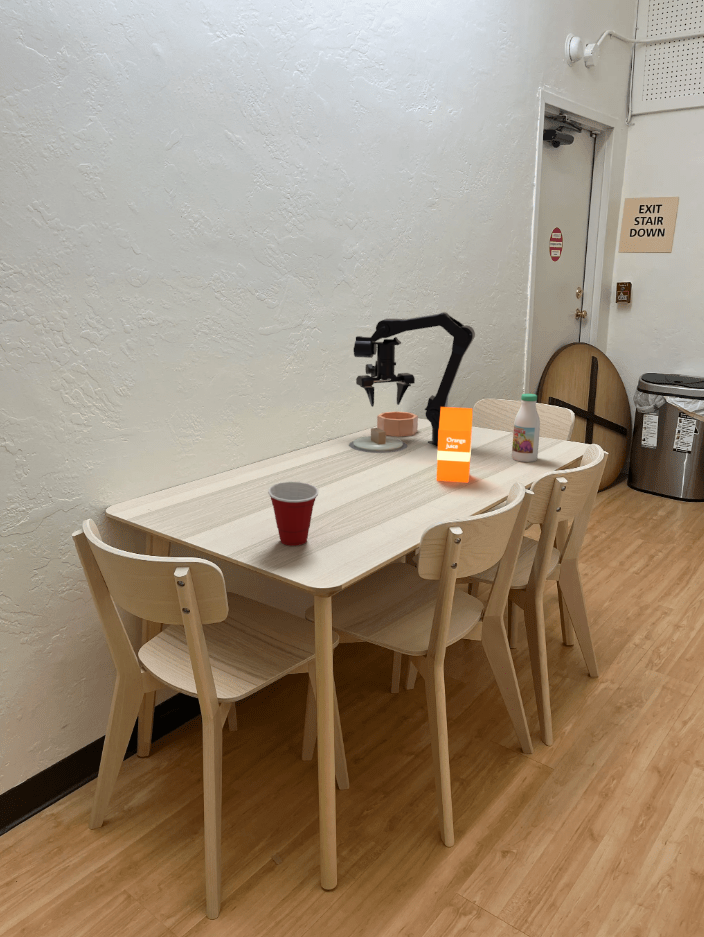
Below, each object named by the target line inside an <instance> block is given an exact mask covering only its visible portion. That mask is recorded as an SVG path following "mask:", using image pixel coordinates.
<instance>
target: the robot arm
mask: <svg viewBox="0 0 704 937" xmlns="http://www.w3.org/2000/svg"><path fill="white" fill-rule="evenodd" d="M435 327H441V328H443V330H445V331H446V333H448V334H449V335H450V336H452V337H453V340H452V346H451V354H450V356H449V359H448V361H447V365H446V368H445V371H444V372H443V376H442V378H441V381H440V384H439V387H438V388H437V391H436V394H435V395H431V396H429V398H428V399H427V400H428V401H427V405H426V406H425V408H424V411H425V418H426V419H427V421H428V422H430V425H431V427H432V428H431V429H432V430H431V431H432V432H431V440H427V444H428V443H429V444H430V445H432V446H434V447H436V448H438V432H439V422H440V411H441V407H448V405H449V404H448V403H449V397H450V396H449V395H450V392H451V390H452V388H453V384H454V382H455V379H456V377H457V374H458V372H459V369H460V366H461V364H462V360H463V358H464V357H465V356H464V355H465V354H466V352H467V351H468V349H469V348H470V347H471V344H472V343H473V341H474V339H475V337H476V332H475V330H474V329H475V328H473V327H472V326H470V325H467V324H466V325H464V324H463V323H462V322H460V321H459V320H457V319H456V318H454V317H452V316H451V315H450V314H449V313H448V312H445V311H444V312H443V311H441V312H440V313H436V314H429V315H424V316H417V317H411V318H384V319H382V320H379V321H378V322H377V324H376V326H375V331H374V332H373V333H372V335H371V336H361V335H357V336H356V337H355V341H354V345H353V356H354V357H355V358H365V359H367V358H369V359H373V357H374V355H375V356H376V360H375V362H374V363H375V364H374V365H373V364H372V363H366V364H365V375H357V377H356V379H355V381H356V385H358V386H359V387H361V388H363V389H364V390H365V393H366V395H367V397H368V400H369V403H370V407H372V408H373V407H374V404H375V387H374V384H382V383H383V384H384V383H395V384H396V405H398V406H399V405H400V403H401V401H402V400H403V398H404V395H405V393H406V392H407V390H408V388H409V387H411V385H413V384H415V381H416V380H415V379H416V378H415V375H414V374H411V373H409V372H401V373H397V375H396V374H395V366H397V362H396V360H395V359H396V355H395V354H396V346H400V345H401V344H402V341H401V340H400V339H398V337H397V336H396V335H399V334H402V333H404V332H405V333H406V332H409V331H416V330H422V329H428V328H435ZM393 336H395V337H394V338H391V337H393ZM388 338H389V339H388ZM381 339H383V341H379V340H381Z"/></svg>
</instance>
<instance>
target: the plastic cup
mask: <svg viewBox="0 0 704 937" xmlns="http://www.w3.org/2000/svg"><path fill="white" fill-rule="evenodd" d="M267 490H268V491H267V493H268V495H269V497H270V501H271V504H272V508H273V512H274V517H275V522H276V528H277V531H278V535H279V539H280V542H281V544H282V545H285V546H289V547H290V546H291V547H294V546H295V547H296V546H302V545H304V544H307V541H308V537H309V531H310V527H311V520H312V514H313V509H314V506H315V502H316V499H317V497H318V496H319V489H318V488H317V486H315V485H312V484H310V483H307V482H301V481H283V482H278V483H274V484H273V485H271V486H269V488H268V489H267Z"/></svg>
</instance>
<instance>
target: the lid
mask: <svg viewBox="0 0 704 937" xmlns="http://www.w3.org/2000/svg"><path fill="white" fill-rule="evenodd" d="M353 441H354V447H356V448H358V449H361V450H366V451H392V450H397V449H400V448H401V447H402V446H403V442H404V441H402V440H401V439H399V438H396V437H394V436H387V435H386V432H385V431H383V430H381V429H379V428H377V427H373V428H370V435H367V436H363V437H362V436H361V437H358V438H356V439H354V440H353Z"/></svg>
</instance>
